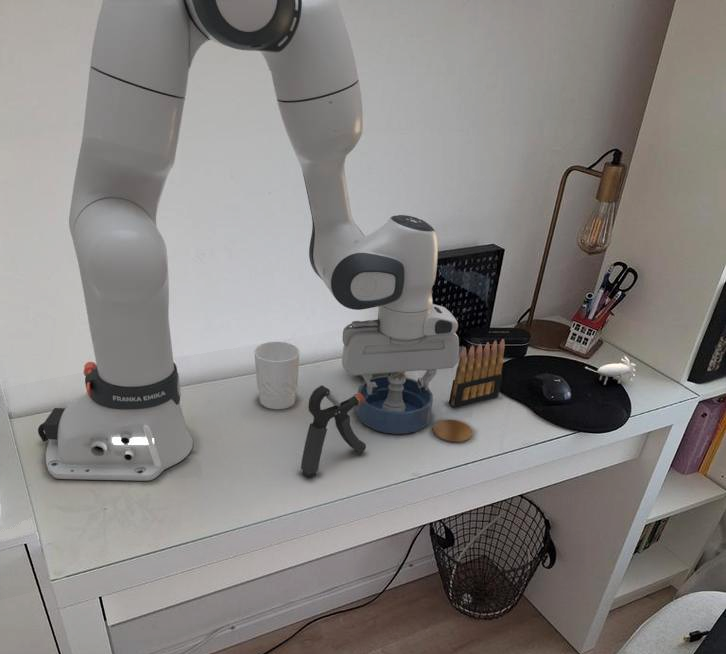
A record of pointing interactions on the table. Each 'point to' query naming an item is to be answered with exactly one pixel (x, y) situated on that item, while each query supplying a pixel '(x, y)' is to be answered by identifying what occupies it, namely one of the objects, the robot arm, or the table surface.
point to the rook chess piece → (395, 393)
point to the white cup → (277, 374)
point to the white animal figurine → (616, 370)
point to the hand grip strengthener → (320, 423)
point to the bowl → (392, 421)
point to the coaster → (452, 431)
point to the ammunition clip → (477, 375)
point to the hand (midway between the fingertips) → (397, 391)
